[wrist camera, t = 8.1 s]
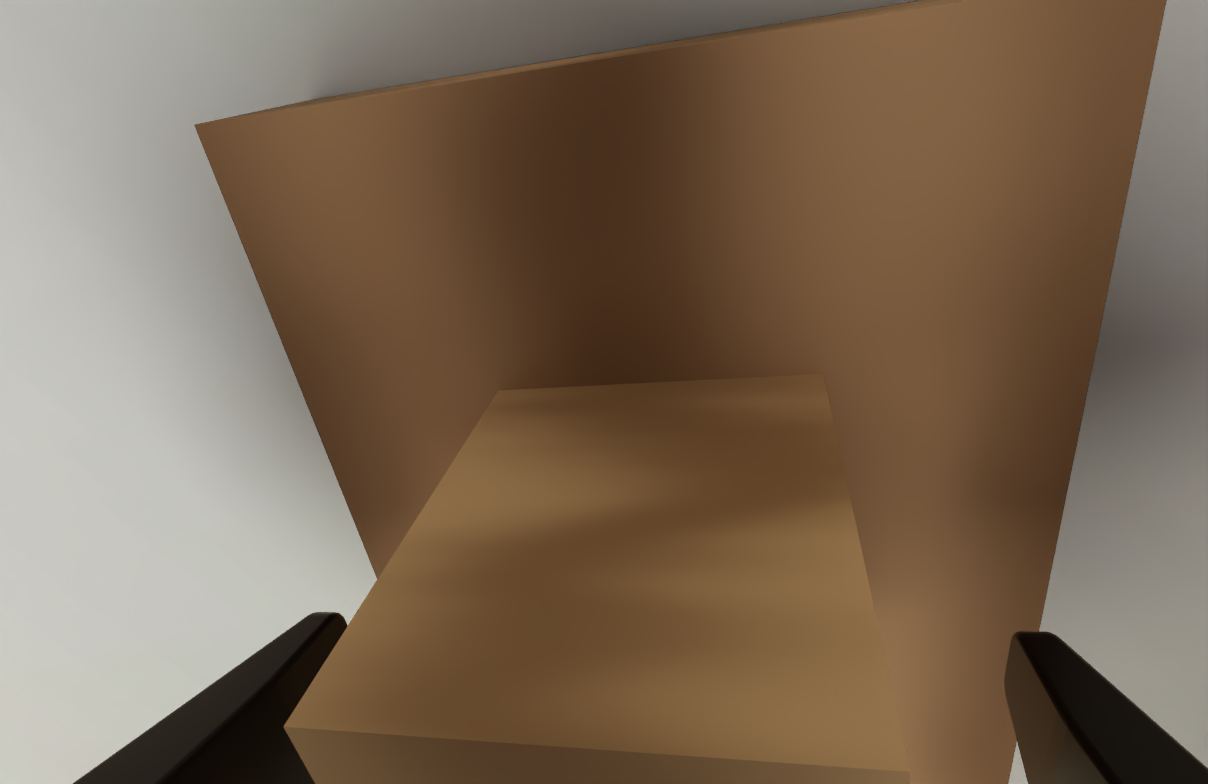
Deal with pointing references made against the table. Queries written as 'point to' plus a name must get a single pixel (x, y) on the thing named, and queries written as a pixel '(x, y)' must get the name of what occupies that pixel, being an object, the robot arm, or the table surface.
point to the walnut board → (740, 279)
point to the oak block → (621, 604)
